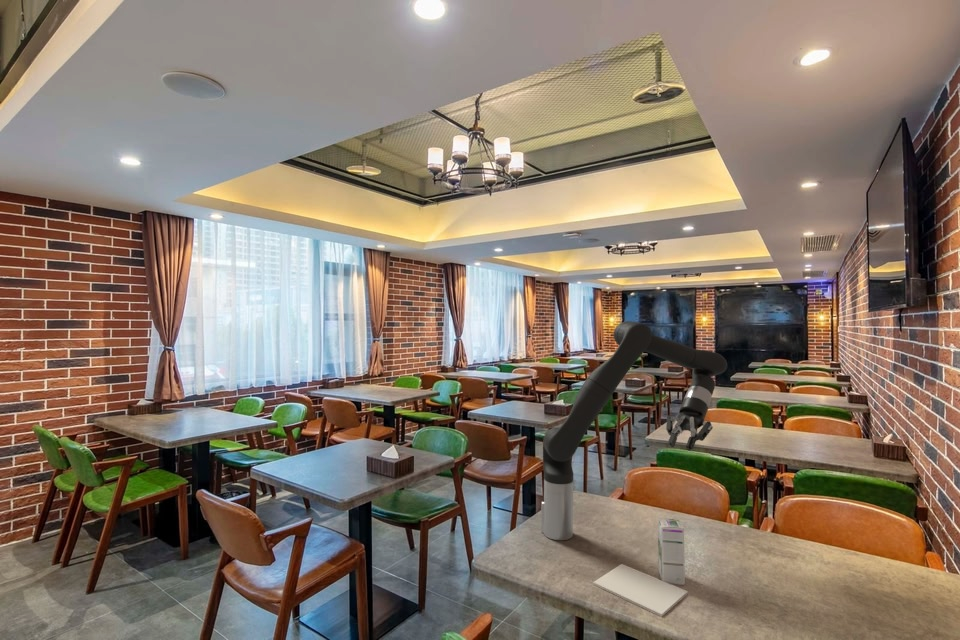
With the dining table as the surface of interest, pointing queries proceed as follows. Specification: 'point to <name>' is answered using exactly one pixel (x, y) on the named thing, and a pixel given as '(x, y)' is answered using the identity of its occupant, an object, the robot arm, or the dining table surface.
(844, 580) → the dining table surface
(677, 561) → the syrup box
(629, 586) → the placemat
